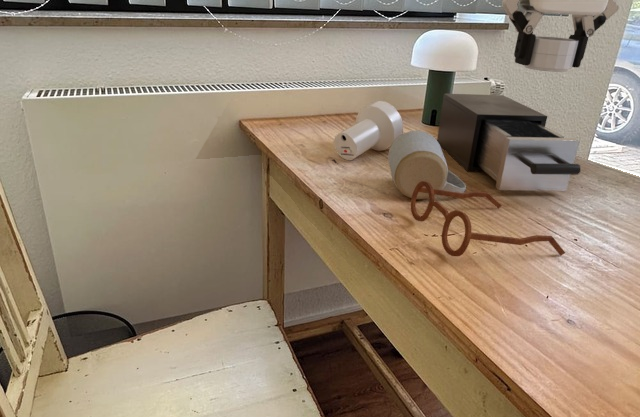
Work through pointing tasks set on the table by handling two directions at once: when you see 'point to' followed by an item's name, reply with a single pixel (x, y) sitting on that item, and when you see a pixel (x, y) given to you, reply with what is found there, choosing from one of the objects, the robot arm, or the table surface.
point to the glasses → (467, 220)
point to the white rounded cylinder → (553, 54)
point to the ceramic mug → (421, 165)
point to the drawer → (526, 155)
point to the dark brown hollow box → (476, 122)
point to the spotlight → (370, 131)
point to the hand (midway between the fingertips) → (546, 63)
